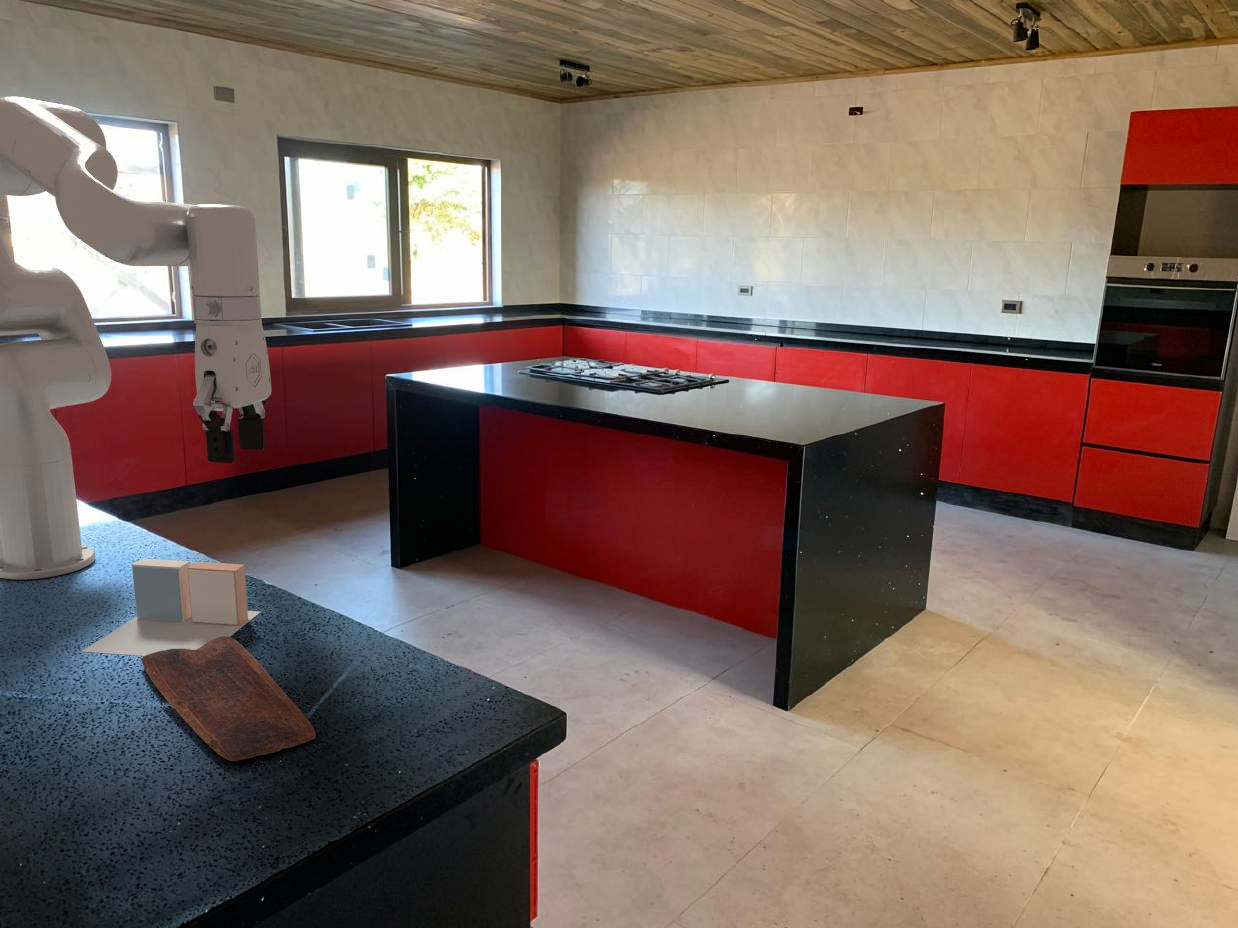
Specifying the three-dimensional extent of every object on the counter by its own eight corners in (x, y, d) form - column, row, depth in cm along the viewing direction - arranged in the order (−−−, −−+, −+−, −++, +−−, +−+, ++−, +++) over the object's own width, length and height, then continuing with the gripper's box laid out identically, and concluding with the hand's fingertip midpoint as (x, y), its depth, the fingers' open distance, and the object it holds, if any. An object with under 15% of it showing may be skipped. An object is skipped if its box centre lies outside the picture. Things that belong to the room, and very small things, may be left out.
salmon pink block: (190, 623, 110) (186, 568, 108) (201, 615, 112) (197, 561, 110) (238, 626, 109) (234, 571, 108) (248, 618, 111) (244, 564, 110)
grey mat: (81, 654, 101) (81, 651, 101) (155, 607, 115) (155, 604, 115) (200, 663, 100) (200, 659, 100) (261, 614, 114) (260, 611, 114)
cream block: (136, 619, 110) (130, 564, 109) (147, 611, 113) (142, 558, 111) (183, 622, 110) (178, 567, 108) (193, 614, 112) (189, 561, 110)
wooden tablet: (325, 725, 85) (213, 749, 78) (323, 747, 85) (212, 772, 79) (232, 630, 104) (136, 642, 98) (231, 648, 105) (135, 662, 98)
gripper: (219, 316, 100) (231, 472, 104) (289, 308, 117) (297, 442, 121) (155, 314, 101) (169, 469, 105) (234, 306, 118) (243, 440, 122)
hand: (237, 454), depth 113 cm, fingers open, 6 cm apart
